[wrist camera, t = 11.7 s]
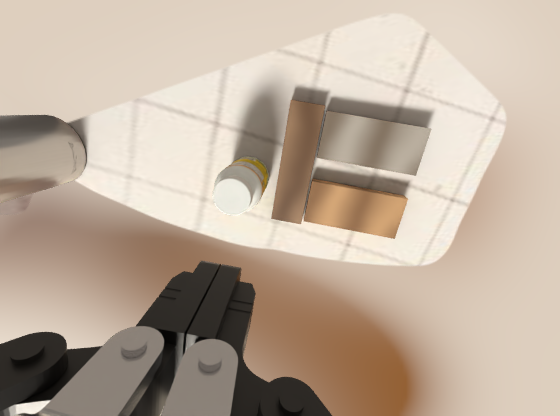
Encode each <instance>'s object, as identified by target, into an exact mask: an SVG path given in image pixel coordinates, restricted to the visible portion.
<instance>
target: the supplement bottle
mask: <svg viewBox="0 0 560 416" xmlns="http://www.w3.org/2000/svg"><path fill="white" fill-rule="evenodd" d="M268 180H269V173H268V170H267V168H266V166H265V165H264V163H263V162H262V161H260V160H259V159H257V158H254V157H249V156H247V157H242V158H239V159H237V160H236V161H235V162H233V163H232V164H231V165H229V166H228V167H226V168H225V169H224V170H223V171H221V173H220V174H219V175H218V177H217V179H216V181H215V187H214V190H213V201H214V203H215V205H216V207H217V208H218V209H219V210H220V211H221V212H223V213H225V214H227V215H239V214H242V213H243V212H246V211H249V210H251V209H252V208H254V207H255V206H256V205H257V204H258V202H259V201H260V199H261V197H262V195H263V193H264V191H265V189H266V187H267V184H268Z"/></svg>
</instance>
